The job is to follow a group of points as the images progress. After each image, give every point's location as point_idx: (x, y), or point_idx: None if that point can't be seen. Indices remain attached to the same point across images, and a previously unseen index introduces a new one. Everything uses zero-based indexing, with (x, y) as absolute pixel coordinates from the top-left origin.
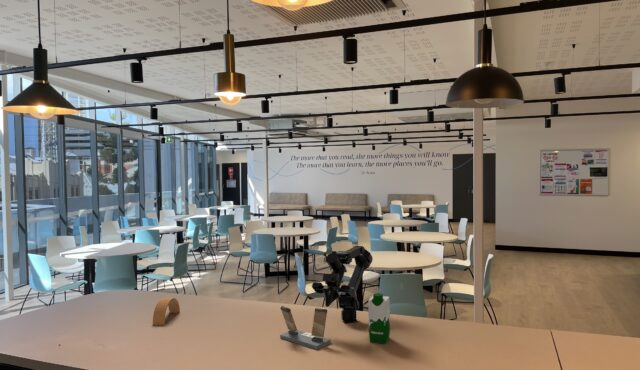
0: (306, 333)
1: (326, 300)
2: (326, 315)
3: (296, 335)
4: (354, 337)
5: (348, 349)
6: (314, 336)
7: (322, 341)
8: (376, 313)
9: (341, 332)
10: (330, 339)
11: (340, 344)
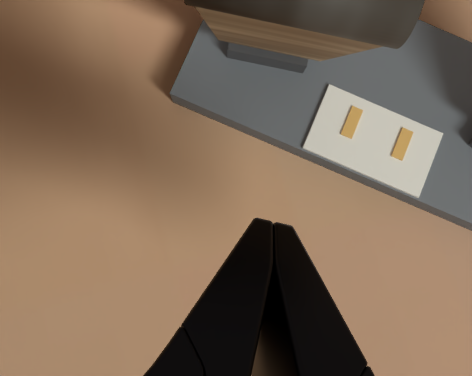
0: (405, 166)
1: (304, 304)
2: (197, 8)
3: (469, 114)
4: (10, 264)
5: (12, 13)
6: (317, 116)
7: None
8: None
9: (143, 353)
10: (171, 92)
11: (92, 92)
